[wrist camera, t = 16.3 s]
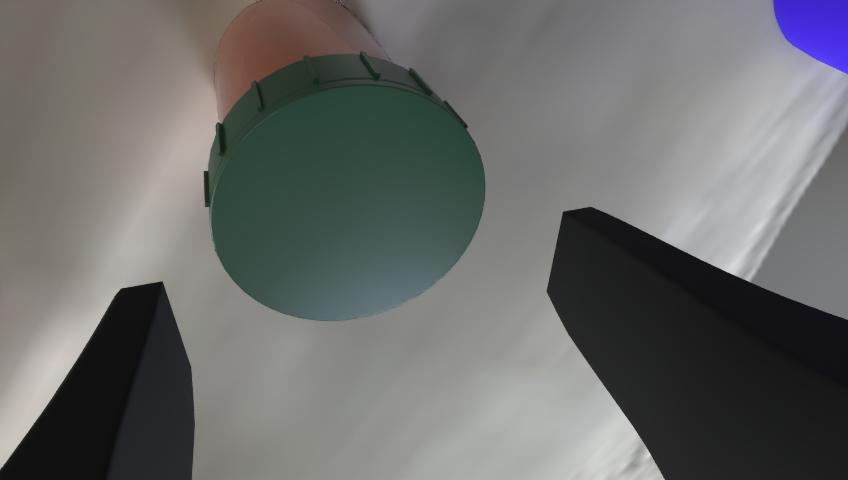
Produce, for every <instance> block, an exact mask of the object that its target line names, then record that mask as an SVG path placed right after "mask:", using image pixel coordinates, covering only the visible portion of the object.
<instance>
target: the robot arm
mask: <svg viewBox="0 0 848 480" xmlns="http://www.w3.org/2000/svg"><path fill="white" fill-rule="evenodd" d="M547 293H548V295H549V297H550V299H551V301H552V303H553V305H554V307H555V309H556V312H557V314H558V316H559V317H560V319H561V321H562V323H563V325H564V327H565V329H566V330H567V332H568V334H569V336H570V337H571V339H572V340H573V342H574V343H575V345H576V346H577V348H578V349H579V350H580V352H581V353H582V355H583V356H584V358H585V359H586V360H587V362H588V363H589V365H590V366H591V368H592V369H593V370H594V372H595V373H596V375H597V376H598V378H599V379H600V380H601V382H602V383H603V385H604V386H605V387H606V389H607V390H608V392H609V393H610V394H611V396H612V397H613V399H614V400H615V401H616V403H617V404H618V406H619V407H620V409H621V410H622V411H623V413H624V414H625V416H626V417H627V418H628V420H629V421H630V423H631V424H632V425H633V427H634V428H635V430H636V432H637V433H638V435H639V436H640V438H641V439H642V441H643V442H644V444H645V445H646V447H647V449H648V450H649V452H650V454H651V456H652V457H653V459H654V461H655V463H656V464H657V466H658V468H659V470H660V472H661V473H662V475H663V477H664V479H665V480H848V320H846V319H844V318H841V317H838V316H834V315H832V314H829V313H826V312H823V311H821V310H818V309H816V308H813V307H810V306H807V305H804V304H802V303H799V302H797V301H794V300H791V299H788V298H786V297H784V296H781V295H779V294H776V293H774V292H771V291H769V290H766V289H764V288H761V287H759V286H757V285H755V284H753V283H750V282H748V281H746V280H743V279H741V278H739V277H737V276H734V275H732V274H730V273H728V272H725V271H723V270H721V269H719V268H717V267H715V266H713V265H711V264H708V263H706V262H704V261H702V260H700V259H698V258H696V257H694V256H692V255H690V254H688V253H686V252H684V251H682V250H680V249H678V248H676V247H674V246H672V245H670V244H668V243H666V242H664V241H662V240H660V239H658V238H656V237H654V236H652V235H650V234H648V233H646V232H644V231H642V230H640V229H638V228H636V227H634V226H632V225H630V224H628V223H626V222H624V221H622V220H620V219H618V218H615V217H613V216H611V215H609V214H607V213H604V212H602V211H600V210H597V209H595V208H592V207H587V208H582V209H576V210H570V211H565V212H563V215H562V220H561V225H560V229H559V234H558V239H557V244H556V249H555V254H554V258H553V263H552V268H551V273H550V278H549V283H548V287H547ZM194 429H195V419H194V401H193V387H192V373H191V366H190V363H189V360H188V357H187V354H186V351H185V348H184V345H183V342H182V338H181V335H180V332H179V329H178V326H177V323H176V320H175V317H174V314H173V311H172V308H171V305H170V302H169V299H168V296H167V293H166V290H165V287H164V284H163V281H162V282H157V283H151V284H145V285H139V286H134V287H128V288H122V289H120V291H119V292H118V293H117V294H116V295H115V297H114V299H113V300H112V302H111V304H110V306H109V307H108V309H107V311H106V312H105V314H104V316H103V318H102V319H101V321H100V323H99V325H98V326H97V328H96V330H95V331H94V333H93V335H92V336H91V338H90V340H89V341H88V343H87V344H86V346H85V348H84V349H83V351H82V353H81V354H80V356H79V358H78V359H77V361H76V362H75V364H74V365H73V367H72V368H71V370H70V371H69V373H68V374H67V376H66V378H65V379H64V381H63V382H62V384H61V385H60V387H59V388H58V390H57V391H56V393H55V394H54V396H53V397H52V399H51V400H50V402H49V403H48V405H47V406H46V408H45V409H44V411H43V412H42V414H41V415H40V416H39V418H38V419H37V420H36V422H35V423H34V425H33V426H32V427H31V429H30V430H29V431H28V433H27V434H26V436H25V437H24V438H23V440H22V441H21V442H20V444H19V445H18V447H17V448H16V449H15V451H14V452H13V453H12V455H11V456H10V458H9V459H8V460H7V462H6V463H5V464H4V466H3V467H2V468H1V469H0V480H192V465H193V447H194Z"/></svg>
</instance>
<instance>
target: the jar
mask: <svg viewBox="0 0 848 480" xmlns="http://www.w3.org/2000/svg"><path fill="white" fill-rule="evenodd" d="M360 51H364V52H366V54H367V55H368V56H372V57H375V58H379V59H383V60H386V61H389V62H391V63H393V62H392V60H391V59H390V58H389V57H388V55H387V54H386V53H385V52H384V50H383V49H382V48H381V46H380V45H379V44H378V43H377V41H376V40H375V39H374V38H373V36H372V35H371V34H370V33H369V31H368V30H367V29H366V28H365V26H364V25H363V24H362V23H361V22H360V21H359V19H358V18H357V17H356V16H355V15H354V14H352V13H351V12H350V11H349V10H348V9H346V8H345V7H343V6H342V5H340V4H339V3H336V2H334V1H332V0H260V1H258V2H256V3H255V4H253V5H251V6H249V7H248V8H247V9H245V10H244V11H243V12H242V13H240V14H239V15H238V16H237V17H236V18H235V20H234V21H233V22H232V23H231V24H230V26H229V27H228V29H227V30H226V31H225V33H224V35H223V37H222V39H221V41H220V44H219V47H218V50H217V54H216V59H215V70H214V76H215V87H216V99H217V110H218V122H219V123H221V124H222V122H223V120H224V118H225V117H226V115H227V114H228V113H229V111H230V110H231V108H232V107H233V106H234V104H235V103H236V102H237V101H238V100H239V99H240V98H241V97H242V96H243V95H244V94H245V93H246V92H247V91H248V90H249V89H250V88H251V82H253V81H254V80H255V81H256V82H259V81H260V80H262V79H263V78H265V77H266V76H268V75H270V74H272V73H273V72H275V71H277V70H278V69H280V68H283V67H285V66H288V65H290V64H292V63H295V62H297V61H301V60H304V59H303V56H305V55H308V56H309V58H312V57H316V56H323V55H330V54H358V55H360Z"/></svg>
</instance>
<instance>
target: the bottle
mask: <svg viewBox="0 0 848 480" xmlns="http://www.w3.org/2000/svg"><path fill="white" fill-rule="evenodd" d="M774 10H775V15H776V19H777V21H778V24H779V26H780V29H781V31H782V33H783V34H784V36H785V38H786V39H787V40H788V41H789V42H790V43H791V44H792V45H793V46H795V47H797V48H798V49H800V50H802V51H803V52H805V53H806V54H808V55H810V56H811V57H813V58H815V59H817V60H818V61H821V62H823V63H825V64H827V65H829V66H831V67H834V68H836V69H838V70H840V71H842V72H844V73H846V74H848V0H774Z"/></svg>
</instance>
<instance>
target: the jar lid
mask: <svg viewBox="0 0 848 480" xmlns="http://www.w3.org/2000/svg"><path fill="white" fill-rule="evenodd" d="M303 59H304V60H301V61H297V62H295V63H292V64H290V65H288V66H285V67H283V68H280V69H278V70H277V71H275V72H273V73H272V74H270V75H268V76H266V77H265V78H263V79H262V80H260V81H259V82H256V81H255V80H254V81H253V82H251V88H250V89H249V90H248V91H247V92H246V93H245V94H244V95H243V96H242V97H241V98H240V99H239V100H238V101H237V102H236V103H235V104H234V106H233V107H232V108H231V110H230V111H229V113H228V114H227V115H226V117H225V118H224V120H223V122H222V124H221V123H219V122H218V123H217V124H216V136H215V139H214V142H213V145H212V148H211V152H210V158H209V164H208V171H204V197H205V207H209V214H210V228H211V235H212V241H213V244H214V247H215V251H216V253H217V256H218V257H219V259H220V261H221V263H222V265H223V267H224V269H225V270H226V272H227V273H228V274H229V276H230V277H231V278H232V280H233V281H234V282H235V283H236V284H237V285H238V286H239V287H240V288H241V289H242V290H243V291H244V292H245V293H247V294H248V295H249V296H251V297H252V298H254V299H255V300H256V301H258V302H260V303H261V304H263V305H265V306H267V307H269V308H271V309H273V310H276V311H278V312H281V313H283V314H286V315H290V316H294V317H298V318H303V319H310V320H319V321H340V320H351V319H357V318H363V317H367V316H371V315H375V314H379V313H381V312H384V311H387V310H390V309H393V308H395V307H397V306H399V305H402V304H404V303H406V302H408V301H409V300H411V299H413V298H415V297H417V296H418V295H420V294H421V293H423V292H424V291H426V290H427V289H429V288H430V287H431V286H433V285H434V284H435V283H436V282H437V281H439V280H440V279H441V278H442V277H443V276H444V275H445V274H446V273H447V272H448V271H449V270H450V269H451V268H452V267H453V266H454V265H455V264H456V262H457V261H458V260H459V258H460V257H461V256H462V255H463V253H464V252H465V250H466V248H467V247H468V245H469V244H470V242H471V240H472V238H473V236H474V234H475V232H476V230H477V227H478V224H479V221H480V218H481V215H482V211H483V206H484V200H485V175H484V168H483V164H482V160H481V156H480V154H479V151H478V149H477V147H476V145H475V142H474V141H473V139H472V137H471V136H470V134H469V133H468V131H467V130H466V128H467V127H468V126H467V125H466V123H465V122H464V121H463V120H462V119H461V117H460V116H459V115H458V114H457V113H456V112H455V111H454V109H453V108H452V107H451V106H450V105H449V104H448V103H447V101H446V100H445V101H442V100H441V99H440V98H439V97H438V96H437V95H436V93H435V92H434V91H433V90H432V89H431V88H430V87H429V86H428V85H427V84H426V83H425V82H424V81H423V79H422V78H421V77H420V76H419V75H418V74H417V72H416V71H415V70H414V69H412V68H410V69H409V71H408V70H406V69H405V68H403V67H401V66H398V65H396V64H394V63H391V62H389V61H386V60H383V59H379V58H375V57H372V56H368V55H367V54H366V52H364V51H360V55H358V54H330V55H323V56H316V57H312V58H309V56H308V55H305V56H303Z"/></svg>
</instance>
